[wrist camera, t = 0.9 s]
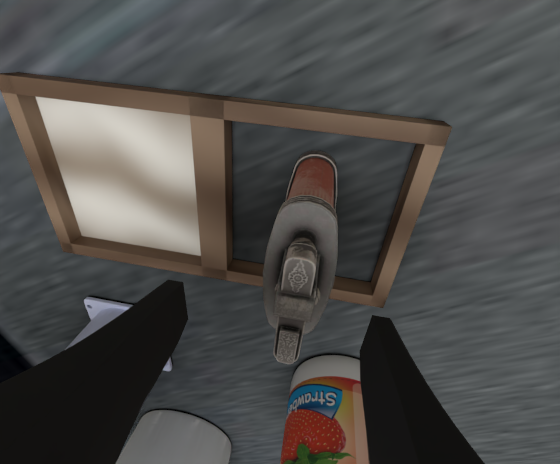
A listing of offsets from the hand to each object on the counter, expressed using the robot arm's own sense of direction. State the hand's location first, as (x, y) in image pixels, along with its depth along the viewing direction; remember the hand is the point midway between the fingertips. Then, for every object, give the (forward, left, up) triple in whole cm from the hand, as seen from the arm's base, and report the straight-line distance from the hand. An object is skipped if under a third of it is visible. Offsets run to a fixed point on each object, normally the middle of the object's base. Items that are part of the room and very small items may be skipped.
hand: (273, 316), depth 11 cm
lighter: (-1, -1, -11) cm, 11 cm away
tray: (-1, +6, -10) cm, 12 cm away
